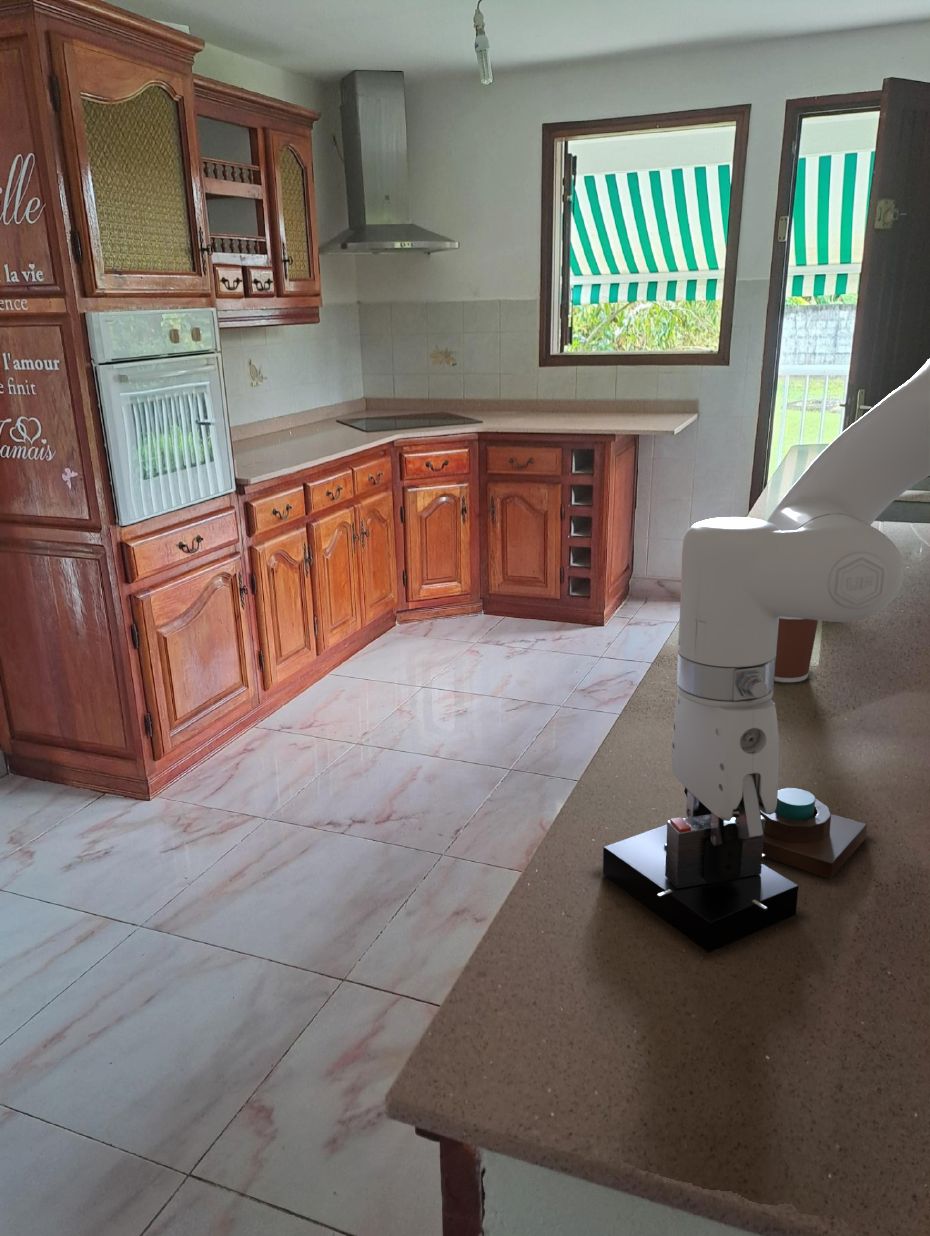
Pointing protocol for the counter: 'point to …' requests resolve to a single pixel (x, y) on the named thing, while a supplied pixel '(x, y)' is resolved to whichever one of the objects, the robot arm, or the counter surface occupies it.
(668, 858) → the metal block
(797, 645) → the coffee cup
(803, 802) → the button
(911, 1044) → the counter surface
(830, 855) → the brown square base
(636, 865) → the black rectangular base
